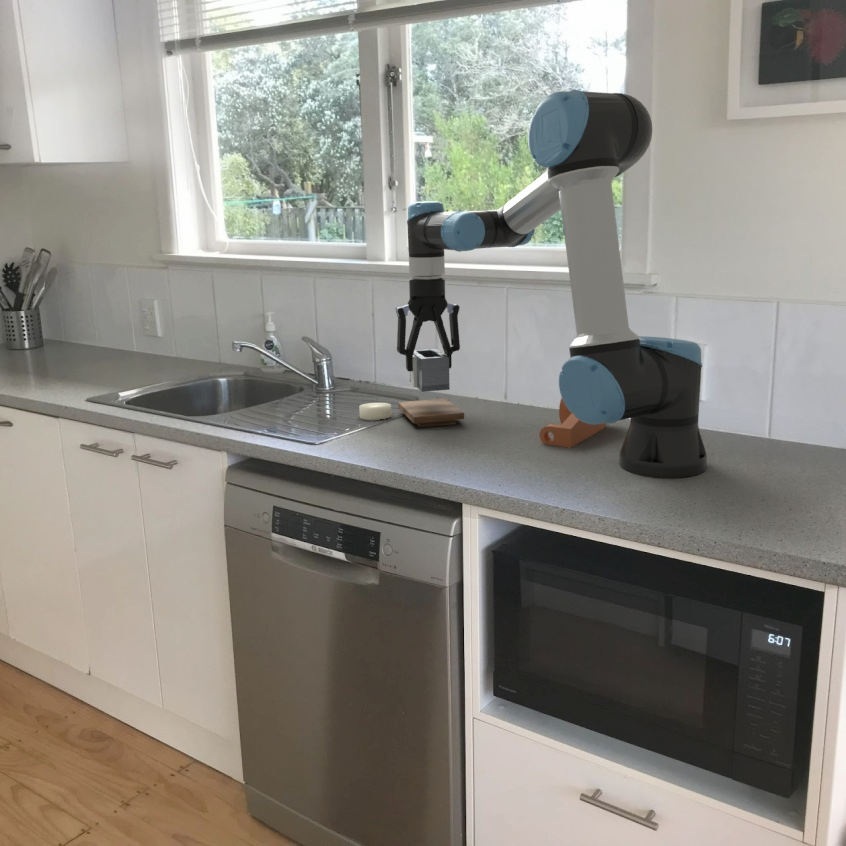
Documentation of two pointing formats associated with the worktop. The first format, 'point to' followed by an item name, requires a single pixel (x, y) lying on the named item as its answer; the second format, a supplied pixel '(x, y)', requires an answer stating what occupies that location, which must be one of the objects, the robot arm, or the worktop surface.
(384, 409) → the cream round puck
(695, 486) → the worktop surface
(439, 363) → the housing
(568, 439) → the crank
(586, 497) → the worktop surface
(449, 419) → the stand
